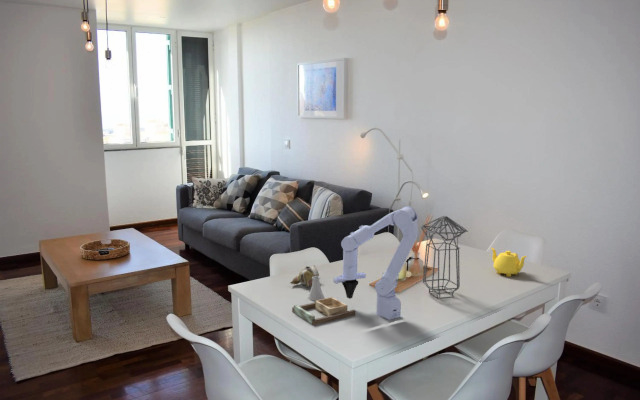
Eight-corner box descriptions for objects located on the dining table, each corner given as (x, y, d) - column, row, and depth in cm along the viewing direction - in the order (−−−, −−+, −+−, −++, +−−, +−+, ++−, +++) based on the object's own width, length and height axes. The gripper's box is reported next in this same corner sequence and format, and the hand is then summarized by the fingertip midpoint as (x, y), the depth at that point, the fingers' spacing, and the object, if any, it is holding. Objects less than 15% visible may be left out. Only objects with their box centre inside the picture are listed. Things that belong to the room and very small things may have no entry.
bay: (355, 317, 208) (355, 307, 207) (313, 327, 198) (313, 317, 197) (332, 304, 221) (332, 295, 221) (292, 313, 211) (292, 304, 210)
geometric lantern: (432, 302, 224) (436, 220, 218) (416, 290, 239) (419, 213, 233) (466, 299, 228) (470, 218, 222) (448, 287, 243) (451, 211, 237)
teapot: (534, 275, 262) (536, 252, 260) (517, 281, 253) (519, 257, 251) (499, 266, 277) (500, 244, 275) (481, 271, 268) (483, 248, 266)
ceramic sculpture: (324, 263, 249) (309, 273, 236) (325, 280, 251) (309, 292, 238) (304, 260, 254) (288, 270, 241) (305, 277, 256) (289, 288, 243)
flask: (314, 296, 231) (314, 273, 230) (327, 299, 227) (328, 277, 225) (303, 300, 226) (303, 277, 224) (317, 304, 221) (317, 281, 220)
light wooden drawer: (347, 313, 209) (347, 305, 208) (330, 318, 204) (330, 309, 204) (331, 305, 218) (331, 296, 217) (315, 309, 214) (315, 300, 213)
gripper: (358, 260, 220) (358, 291, 223) (329, 265, 212) (328, 297, 215) (369, 264, 214) (368, 296, 217) (339, 269, 207) (338, 303, 209)
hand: (349, 297), depth 215 cm, fingers closed
